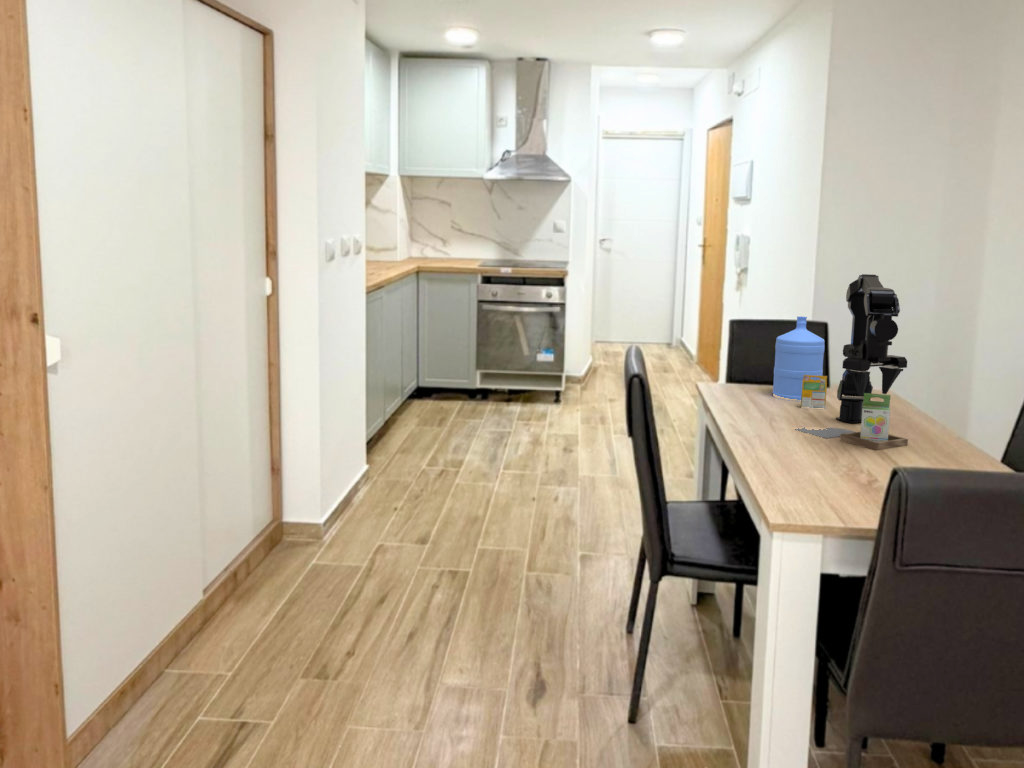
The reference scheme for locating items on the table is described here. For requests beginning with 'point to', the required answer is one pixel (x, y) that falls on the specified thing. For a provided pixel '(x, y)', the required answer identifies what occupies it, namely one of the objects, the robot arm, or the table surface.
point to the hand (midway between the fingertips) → (872, 395)
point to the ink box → (875, 418)
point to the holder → (891, 443)
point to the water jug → (797, 360)
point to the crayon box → (814, 392)
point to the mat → (826, 432)
